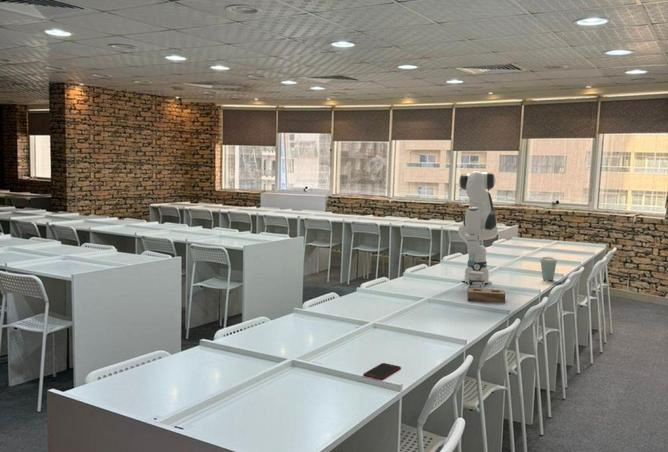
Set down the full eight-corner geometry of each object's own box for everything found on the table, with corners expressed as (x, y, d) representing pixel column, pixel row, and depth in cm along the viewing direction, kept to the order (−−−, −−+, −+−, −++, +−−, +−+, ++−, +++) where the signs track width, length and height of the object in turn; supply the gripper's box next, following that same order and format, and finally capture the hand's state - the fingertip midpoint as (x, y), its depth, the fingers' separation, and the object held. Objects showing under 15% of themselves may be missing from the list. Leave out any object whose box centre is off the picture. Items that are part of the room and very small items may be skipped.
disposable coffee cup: (559, 281, 378) (560, 258, 377) (546, 282, 374) (547, 259, 373) (548, 278, 388) (549, 256, 387) (535, 279, 384) (536, 257, 383)
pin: (469, 264, 325) (469, 250, 325) (474, 265, 324) (474, 251, 324) (468, 265, 322) (469, 251, 322) (474, 265, 322) (474, 251, 321)
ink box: (467, 291, 342) (468, 271, 340) (469, 289, 346) (470, 270, 345) (481, 292, 338) (482, 273, 336) (483, 291, 342) (484, 271, 341)
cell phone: (362, 376, 196) (362, 374, 196) (382, 365, 208) (382, 362, 208) (382, 381, 192) (382, 378, 192) (401, 369, 204) (401, 366, 204)
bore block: (468, 296, 327) (468, 287, 327) (504, 298, 322) (504, 289, 322) (467, 300, 316) (467, 291, 315) (505, 303, 311) (505, 294, 310)
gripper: (467, 233, 333) (467, 257, 334) (465, 237, 313) (465, 262, 314) (478, 234, 331) (478, 257, 332) (477, 237, 311) (477, 262, 313)
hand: (471, 259), depth 323 cm, fingers closed on pin, 3 cm apart
